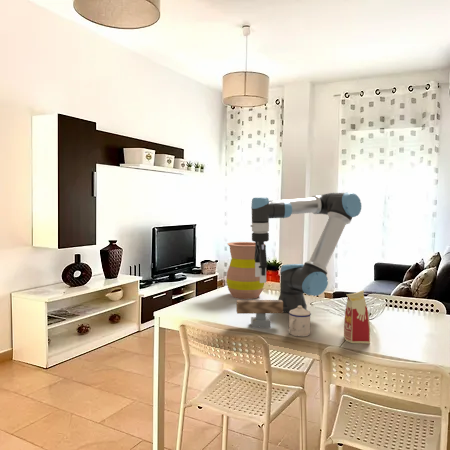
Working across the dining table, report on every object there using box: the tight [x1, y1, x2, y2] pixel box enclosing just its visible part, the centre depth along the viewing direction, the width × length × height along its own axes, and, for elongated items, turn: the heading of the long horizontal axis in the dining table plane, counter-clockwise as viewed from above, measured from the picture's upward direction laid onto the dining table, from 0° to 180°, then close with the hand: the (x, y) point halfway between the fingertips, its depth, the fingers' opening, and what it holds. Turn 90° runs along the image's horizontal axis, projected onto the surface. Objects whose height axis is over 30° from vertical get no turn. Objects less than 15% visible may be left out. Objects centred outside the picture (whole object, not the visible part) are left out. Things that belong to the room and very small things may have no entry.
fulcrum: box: [250, 313, 272, 329], centre depth 190 cm, size 8×6×6 cm
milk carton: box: [343, 289, 371, 344], centre depth 172 cm, size 9×9×20 cm
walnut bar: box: [236, 299, 284, 315], centre depth 190 cm, size 20×4×5 cm, turn 93°
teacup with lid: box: [288, 305, 312, 337], centre depth 178 cm, size 12×9×12 cm
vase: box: [226, 241, 266, 300], centre depth 247 cm, size 22×22×30 cm
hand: (260, 279), depth 193 cm, fingers open, 13 cm apart
